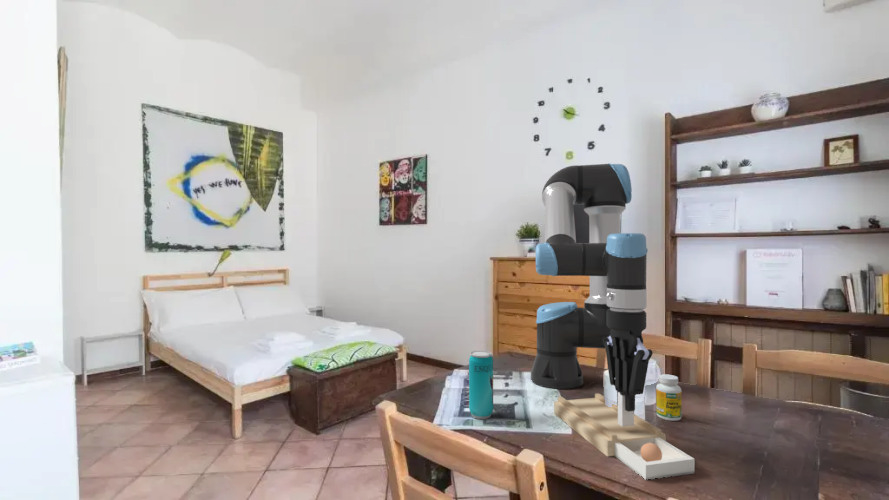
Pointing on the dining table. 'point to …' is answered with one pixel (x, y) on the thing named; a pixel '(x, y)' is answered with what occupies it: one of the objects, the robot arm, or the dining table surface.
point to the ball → (651, 452)
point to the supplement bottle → (668, 398)
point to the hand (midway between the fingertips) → (625, 424)
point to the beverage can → (481, 384)
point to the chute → (603, 423)
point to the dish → (668, 466)
